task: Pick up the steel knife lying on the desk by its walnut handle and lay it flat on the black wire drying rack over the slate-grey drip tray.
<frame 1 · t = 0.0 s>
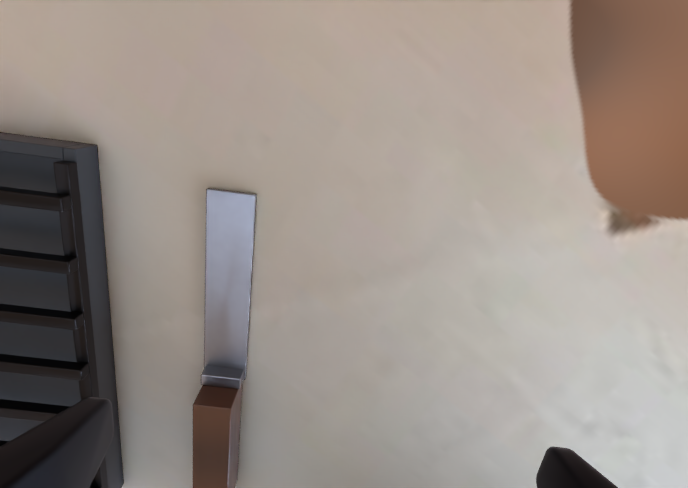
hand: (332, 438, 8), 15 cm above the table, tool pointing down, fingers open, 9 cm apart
knife: (226, 355, 25), on the table
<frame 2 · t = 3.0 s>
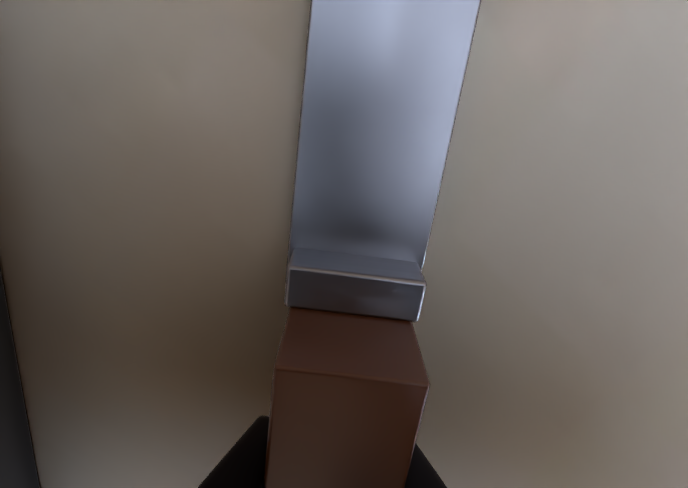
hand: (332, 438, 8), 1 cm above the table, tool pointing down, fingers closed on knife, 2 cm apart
knife: (361, 215, 8), on the table, touching gripper
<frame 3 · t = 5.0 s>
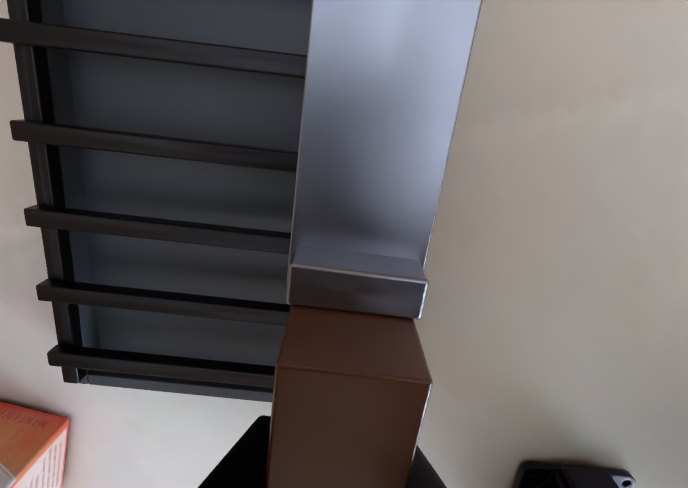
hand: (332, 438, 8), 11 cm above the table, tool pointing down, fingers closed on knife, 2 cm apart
knife: (363, 212, 8), point 10 cm above the table, touching gripper
dish rack: (234, 144, 17), on the table
when the fingers open (4 cm above the table, at t = 7.2 s): knife stays where it is, resting on dish rack.
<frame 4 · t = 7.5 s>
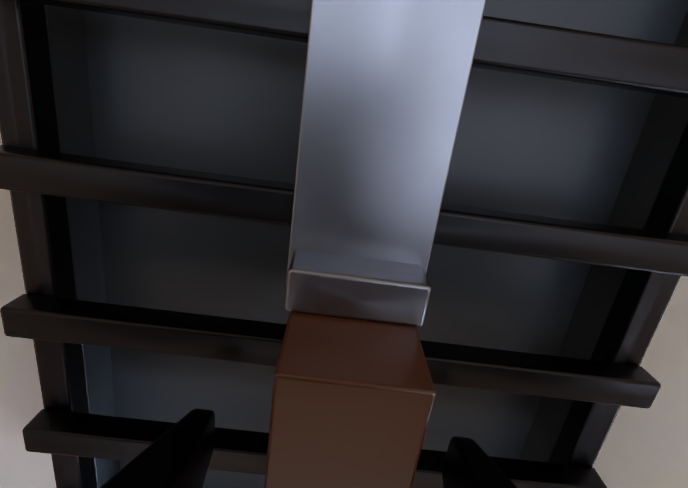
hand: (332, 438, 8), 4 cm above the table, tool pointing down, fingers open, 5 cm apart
knife: (364, 216, 7), point 3 cm above the table, touching dish rack
dish rack: (357, 183, 10), on the table
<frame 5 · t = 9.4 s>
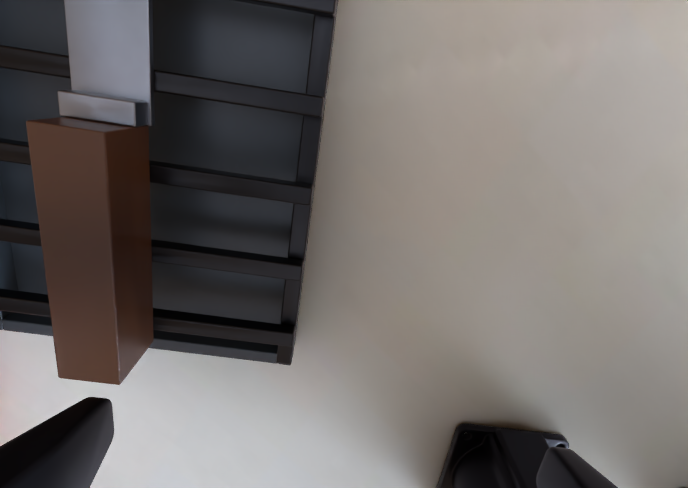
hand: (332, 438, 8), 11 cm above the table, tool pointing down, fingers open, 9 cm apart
knife: (114, 73, 13), point 3 cm above the table, touching dish rack
dish rack: (155, 77, 16), on the table
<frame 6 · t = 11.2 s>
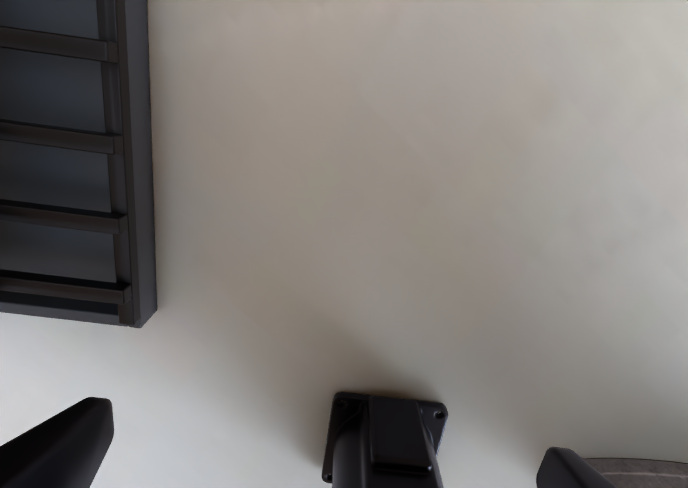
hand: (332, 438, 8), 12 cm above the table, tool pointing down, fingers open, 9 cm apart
flask: (663, 478, 25), on the table
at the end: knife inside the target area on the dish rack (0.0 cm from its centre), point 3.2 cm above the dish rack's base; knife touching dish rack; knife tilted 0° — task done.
